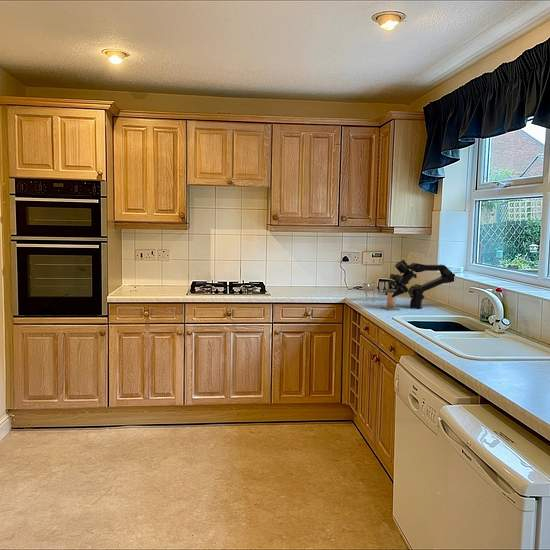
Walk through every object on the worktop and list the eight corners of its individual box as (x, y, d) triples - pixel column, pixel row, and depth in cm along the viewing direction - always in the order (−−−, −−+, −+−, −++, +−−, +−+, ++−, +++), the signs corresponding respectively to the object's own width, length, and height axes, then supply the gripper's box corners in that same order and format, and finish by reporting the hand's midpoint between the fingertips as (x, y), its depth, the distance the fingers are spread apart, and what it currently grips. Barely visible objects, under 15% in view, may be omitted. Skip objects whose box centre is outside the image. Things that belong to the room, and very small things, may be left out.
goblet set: (396, 299, 373) (397, 281, 371) (400, 300, 367) (401, 282, 366) (360, 300, 365) (361, 281, 363) (364, 302, 359) (364, 282, 358)
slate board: (391, 306, 340) (392, 305, 340) (400, 310, 329) (400, 308, 329) (380, 307, 339) (380, 306, 338) (388, 310, 327) (388, 309, 327)
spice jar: (395, 307, 334) (396, 288, 333) (392, 308, 330) (393, 289, 329) (388, 306, 337) (389, 288, 336) (385, 307, 333) (386, 288, 332)
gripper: (391, 268, 341) (374, 285, 340) (404, 271, 323) (387, 289, 321) (401, 279, 343) (385, 296, 342) (415, 283, 325) (398, 301, 324)
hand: (388, 295), depth 332 cm, fingers open, 9 cm apart
